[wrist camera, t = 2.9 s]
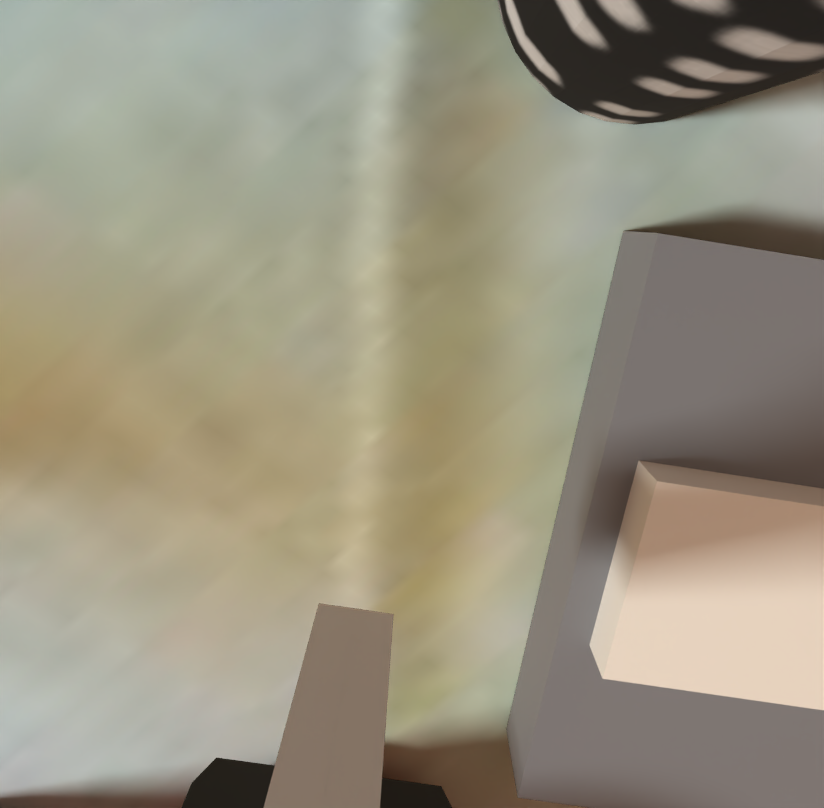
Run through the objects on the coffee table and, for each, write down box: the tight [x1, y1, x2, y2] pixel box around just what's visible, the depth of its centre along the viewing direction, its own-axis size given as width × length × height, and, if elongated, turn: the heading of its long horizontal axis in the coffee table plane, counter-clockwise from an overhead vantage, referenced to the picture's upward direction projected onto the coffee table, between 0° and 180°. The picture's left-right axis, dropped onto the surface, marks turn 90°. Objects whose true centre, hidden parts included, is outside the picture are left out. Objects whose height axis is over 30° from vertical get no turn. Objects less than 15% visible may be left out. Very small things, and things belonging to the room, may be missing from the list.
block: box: [590, 460, 824, 710], centre depth 18 cm, size 6×9×2 cm, turn 81°
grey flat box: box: [506, 231, 824, 808], centre depth 21 cm, size 18×12×3 cm, turn 171°
